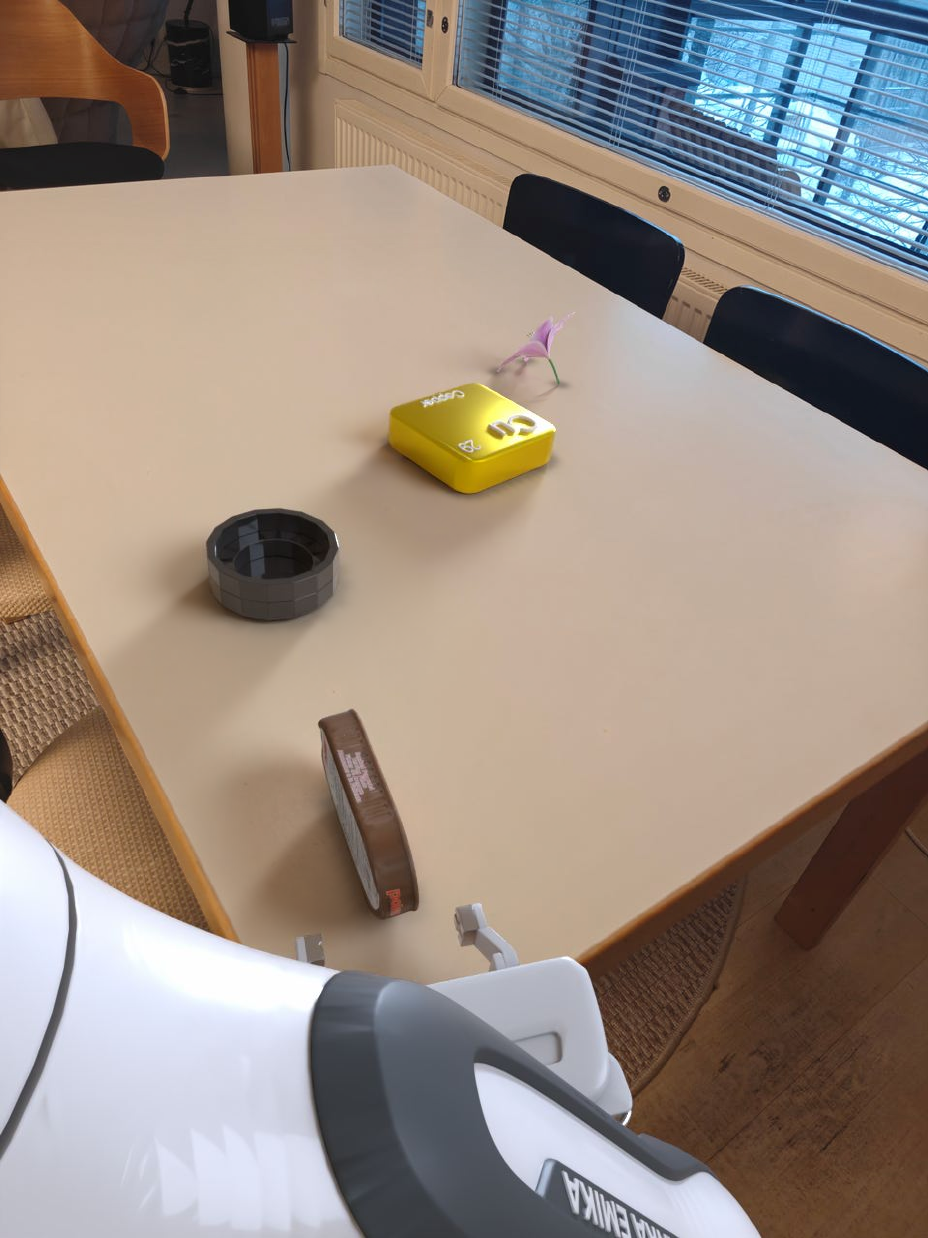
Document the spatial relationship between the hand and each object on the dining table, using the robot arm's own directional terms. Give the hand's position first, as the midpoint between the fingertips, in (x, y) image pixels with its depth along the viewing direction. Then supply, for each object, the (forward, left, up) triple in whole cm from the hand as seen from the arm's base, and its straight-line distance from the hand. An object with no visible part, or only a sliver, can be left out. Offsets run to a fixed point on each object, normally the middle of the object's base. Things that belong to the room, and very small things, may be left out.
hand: (388, 924), depth 50 cm
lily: (+37, +81, -5) cm, 89 cm away
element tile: (+22, +61, -5) cm, 65 cm away
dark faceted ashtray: (-3, +39, -5) cm, 39 cm away
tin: (0, +9, -5) cm, 10 cm away
